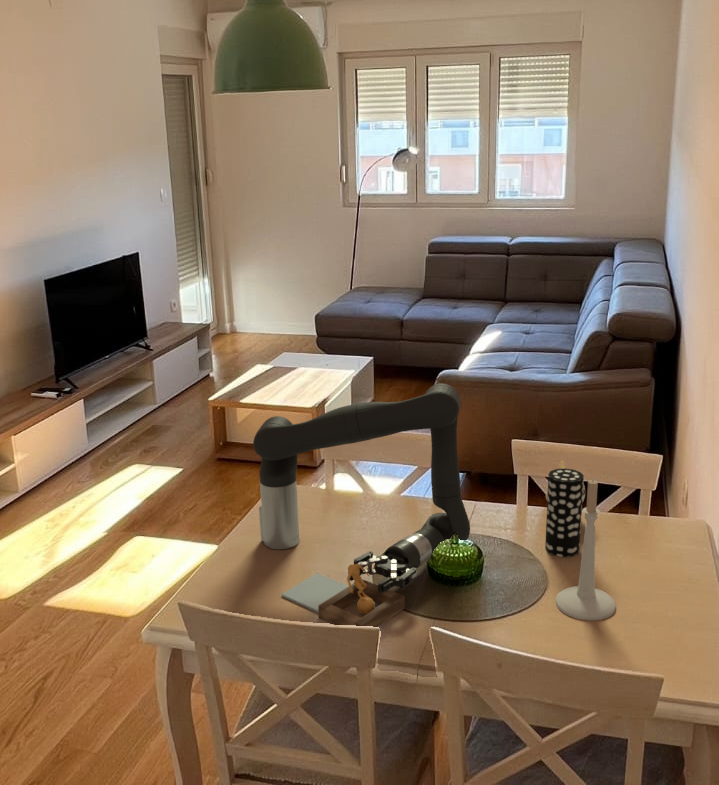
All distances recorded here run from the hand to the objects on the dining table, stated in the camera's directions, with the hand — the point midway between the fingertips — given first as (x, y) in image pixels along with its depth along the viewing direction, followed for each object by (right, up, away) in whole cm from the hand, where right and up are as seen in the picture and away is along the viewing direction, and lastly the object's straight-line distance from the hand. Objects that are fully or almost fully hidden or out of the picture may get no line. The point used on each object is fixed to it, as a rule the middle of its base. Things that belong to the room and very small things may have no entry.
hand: (364, 582), depth 188 cm
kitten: (+54, +7, +42) cm, 69 cm away
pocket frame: (0, -7, +1) cm, 7 cm away
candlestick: (+49, -6, +2) cm, 49 cm away
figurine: (0, -7, +1) cm, 7 cm away
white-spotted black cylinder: (+50, +2, +27) cm, 57 cm away
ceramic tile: (-10, -5, +9) cm, 15 cm away
